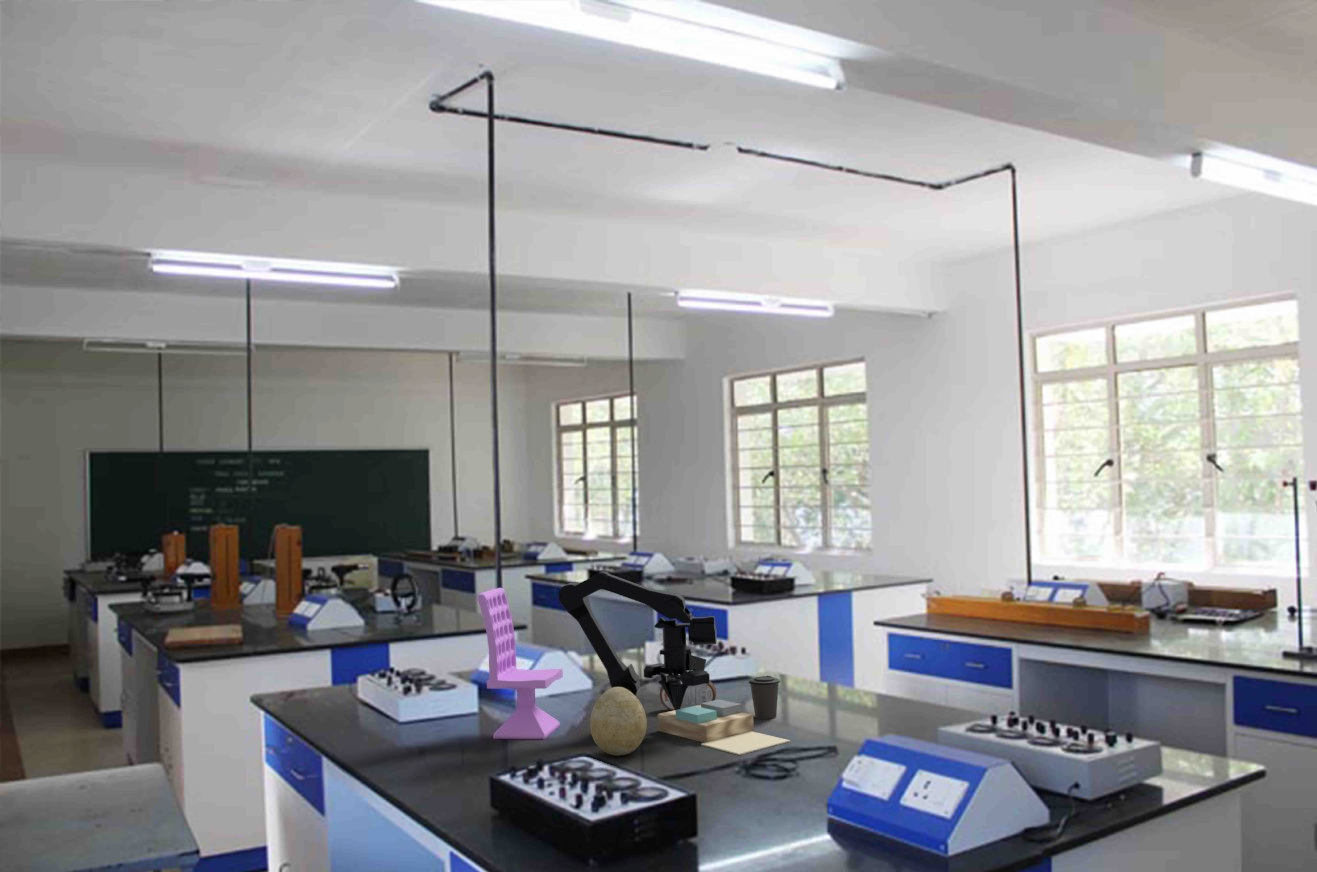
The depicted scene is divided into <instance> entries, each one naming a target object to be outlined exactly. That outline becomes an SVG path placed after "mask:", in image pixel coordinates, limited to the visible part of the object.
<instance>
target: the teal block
mask: <svg viewBox="0 0 1317 872" xmlns="http://www.w3.org/2000/svg"><path fill="white" fill-rule="evenodd" d="M676 719H680V720H684V721H688V722H693V723H697V724H699V723H703V722H708V721H712V720H716V719H717V711H715V710H711V709H706V708H702V707H697V706H692V707H687V708H683V709H678V710H676Z"/></svg>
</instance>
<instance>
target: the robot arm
mask: <svg viewBox="0 0 1317 872" xmlns="http://www.w3.org/2000/svg"><path fill="white" fill-rule="evenodd" d="M599 590H605V591H607V592H611V593H613V594H615V595H619V596H621V597H624V598H626V599H630V600H632V601H635V602H638V603H641V604H643V605H645V606H647V607H649V608H650V609H652V610H654V611H655V612H656V613H658V614H660V615H662V616H661V617H660V618H659V619H658V621H657V622H656V623H655V624H654V626H653V627H654V628H656V629H659V628H660V629H662V648H663V649H659V655H660V656H662V655H663V663H661V662H658V663H654V664H647V665H645V667H644V669H643V678H646V679H653V677H654V676H657V675H658V676H660V680H658V684H660V685H661V686H662V687H663V689H664V691H665V692H666V694H667V696H668V698H669V700H670V702H671V704H672V705H673V707H674V709H675V710H678V709H680V708H681V705H682V701H683V698H684V695H685V692H686V689H687V688H688V686H696V685H701V684H706V683H710V681H711V680H710V678H711V675H710V673H709V672H708V671H707V670H705V669H706V664H707V659H706V658H703V657H699V656H697V655H694V654H692V650H691V648H687V646H688V645H687V635H688V641H689V642H691V643H692V645H693V646H701V645H703V646H705V645H706V646H709V645H717V643H718V642H717V633H718V632H717V627H716V618H715V615H708V616H697V617H696V616H694V615H693V614H692V612H691V611H690V610H689V608H688V607H687V605H686V600H685V597H684V596H683V595H682V594H680V593H679V592H673V591H668V590H667V591H666V590H661V589H655V588H654V589H653V588H649V587H647V586H645V585H641V584H638V583H635V582H632V581H629V580H627V579H624V578H621V577H619V576H616V575H614V574H611V573H609V572H608V571H599V572H598V573H596V574H595V575H593V576H591V577H589V578H587V579H585V580H583V581H581V582H576V581H575V582H574V581H573V582H572V581H571V582H569V583H567V584H565V585H563V586H562V587H561V588H560V590H559V591H558V595H557V599H558V602H559V604H560V605H561V606H562V607H563V608H564V610H565V611H566V612H567V613H568V614H569V615H570V616H571V617H572V618H574V620H576V621H577V623H578V624H579V626H580V628H581V629H582V632H584V635H585V636H586V638H587V640H588V641H589V643H590V645H591V647H592V648H593V650H594V652H595V653H596V655H597V657H598V659H599V660H600V661H601V664H602V665H603V667H604V669H605V671H606V673H607V677H608V681H609V685H610V688H613V687H623V688H626V689H627V690H629V691H631V692H632V693H633V694H634V695H635V696H636V697H637V694H638V693H639V691H640V688H641V683H640V678H641V676H640V675H638V673H637V672H636V670H635V667H634V666H633V664H632V663H630V664H629V665H628V666H627V665H626V664H625V663H624V662H623V661H622V660H621V659H620V657H619V655H618V654H617V652H616V651H615V648H614V646H613V645H612V643H611V641H610V640H609V639H608V637H607V635H606V633H605V631H604V629H603V628H602V627H601V625H600V623H599V622H598V620H597V618H596V616H595V615H594V613H593V611H592V607H591V604H590V602H591V601H590V600H589V595H592V594H594V593H595V592H598V591H599ZM664 617H666V618H667V619H665V618H664ZM678 621H679V622H678ZM661 686H660V687H661Z"/></svg>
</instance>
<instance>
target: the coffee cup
mask: <svg viewBox="0 0 1317 872" xmlns="http://www.w3.org/2000/svg"><path fill="white" fill-rule="evenodd" d="M780 683H781V680H780V679H779V678H777V677H773V676H771V675H766V676H765V675H762V676H756V677H754V678H751V679H749V681H748V684H750V690H751V696H752V703H753V704H752V705H753V710H754V717H755V719H758V720H772V719H776V718H777V713H778V712H777V711H778V699H779V698H778V696H779V684H780Z"/></svg>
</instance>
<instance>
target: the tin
mask: <svg viewBox="0 0 1317 872" xmlns="http://www.w3.org/2000/svg"><path fill="white" fill-rule="evenodd" d="M716 698H717V689H716V686H715V684H713V682H712V681H711V680H710V683H706V684H701V685H696V686H688V688H687V689H686V692H685V695H684V698H683V701H682V705H681V708H680V709H683V708H687V707H692V706H697V705H701V703H705V702H710V701H714V700H716ZM659 700H660V702H661V703H662V705H663V706H664V707H665V708H666V709H668V710H669V711H674V710H675V709H674V707H673V705H672V704H671V702H670V700H669V698H668V696H667V694H666V692H665V691H664V689H663V687H662V686H660V689H659Z"/></svg>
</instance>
